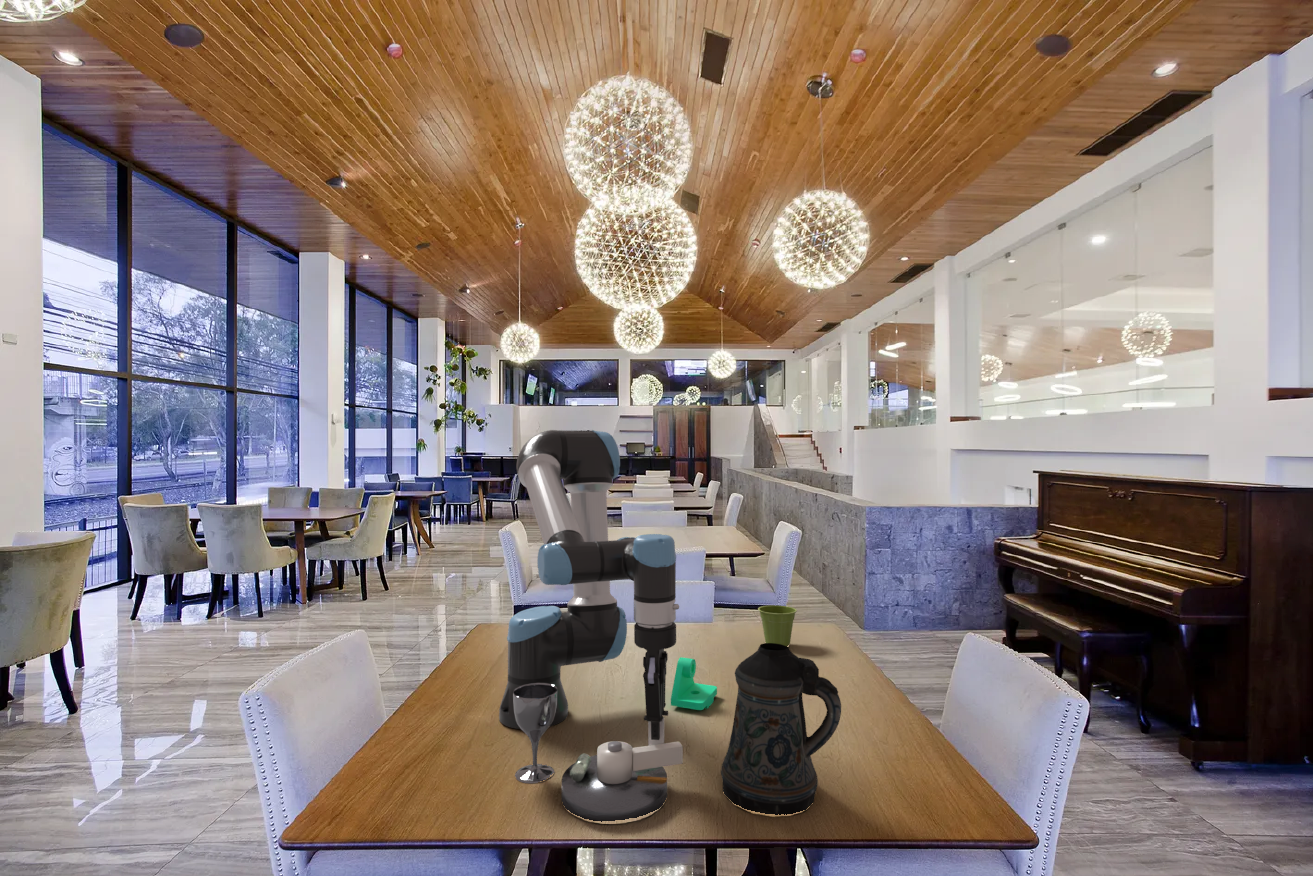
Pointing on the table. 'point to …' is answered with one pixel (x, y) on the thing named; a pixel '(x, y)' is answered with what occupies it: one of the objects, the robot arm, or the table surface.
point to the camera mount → (690, 688)
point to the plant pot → (777, 623)
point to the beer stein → (776, 732)
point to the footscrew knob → (634, 759)
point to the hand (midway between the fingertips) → (656, 754)
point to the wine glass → (534, 723)
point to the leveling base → (611, 792)
